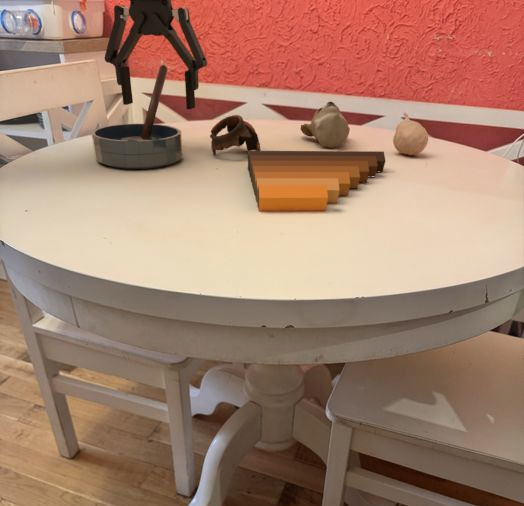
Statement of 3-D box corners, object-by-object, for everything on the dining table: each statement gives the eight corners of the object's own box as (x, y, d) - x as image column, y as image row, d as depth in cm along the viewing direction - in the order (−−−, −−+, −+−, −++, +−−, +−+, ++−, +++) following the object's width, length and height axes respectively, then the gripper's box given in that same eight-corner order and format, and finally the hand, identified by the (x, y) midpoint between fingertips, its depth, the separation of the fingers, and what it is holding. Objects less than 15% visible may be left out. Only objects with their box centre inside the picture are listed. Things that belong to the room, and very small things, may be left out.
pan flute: (378, 167, 95) (247, 167, 93) (381, 149, 93) (247, 148, 91) (424, 211, 75) (259, 212, 73) (429, 188, 73) (259, 188, 71)
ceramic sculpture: (312, 104, 101) (300, 98, 114) (309, 149, 105) (297, 139, 118) (363, 105, 102) (345, 99, 115) (358, 150, 106) (341, 139, 119)
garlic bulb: (418, 151, 108) (426, 111, 103) (427, 159, 102) (436, 116, 98) (388, 151, 107) (395, 110, 103) (396, 158, 102) (403, 115, 98)
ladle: (148, 161, 92) (139, 73, 84) (116, 158, 94) (105, 71, 85) (184, 142, 106) (179, 65, 98) (156, 140, 108) (149, 63, 100)
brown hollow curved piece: (267, 162, 98) (249, 125, 92) (224, 182, 101) (204, 147, 95) (260, 133, 106) (244, 97, 100) (221, 153, 108) (202, 119, 102)
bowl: (79, 166, 91) (74, 136, 88) (121, 147, 104) (118, 121, 101) (162, 174, 88) (159, 144, 85) (194, 153, 101) (193, 127, 98)
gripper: (222, -25, 89) (224, 107, 101) (95, -27, 93) (111, 99, 105) (208, -27, 83) (211, 113, 95) (73, -30, 87) (93, 104, 99)
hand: (159, 106), depth 100 cm, fingers open, 13 cm apart
